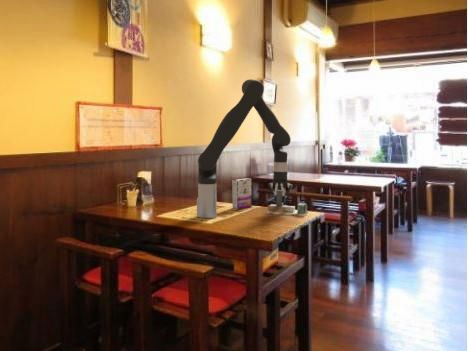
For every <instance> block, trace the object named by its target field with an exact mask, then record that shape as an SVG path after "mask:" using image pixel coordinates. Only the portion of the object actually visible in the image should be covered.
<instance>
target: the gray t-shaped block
mask: <svg viewBox="0 0 468 351" xmlns="http://www.w3.org/2000/svg"><path fill="white" fill-rule="evenodd" d="M282 196H283V195H282V190H281V189H279V190H278V191H277V197H276V202H275V203H276V205H269V206H282V207H285V211H289V212H294V211H295V210H296V206H295V205H287V206H283V205H284V203H282Z"/></svg>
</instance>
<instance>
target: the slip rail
mask: <svg viewBox="0 0 468 351" xmlns="http://www.w3.org/2000/svg"><path fill="white" fill-rule="evenodd" d="M270 205H276V204H274V203H271V204H270ZM270 205H267V211H266V214H270V215H278V216H279V215H280V216H291V215H294V217H303V216H304V217H305V216H307V214H309V212H308V203H304V202H303V203H302V202H299V203H298V204H297V209H295V211H294V212H289V211H285V207H282V206H270ZM283 206H288V205H287V204H283Z"/></svg>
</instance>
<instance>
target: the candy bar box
mask: <svg viewBox="0 0 468 351" xmlns="http://www.w3.org/2000/svg"><path fill="white" fill-rule="evenodd" d="M252 182H253V181H252V178H248V177H247V178H239V179H232V180H231V185H232V186H231V187H232V188H231V189H232V192H231V193H232V202H231V203H232V209H236V210H241V209H246V208H251V207H252V204H253V203H252V196H253V193H252V190H253V188H252V184H253V183H252Z"/></svg>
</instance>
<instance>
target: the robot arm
mask: <svg viewBox="0 0 468 351" xmlns="http://www.w3.org/2000/svg"><path fill="white" fill-rule="evenodd" d="M263 84H264V83H262V81H259V80H257V79H251V78H250V79H246V80H245V81H244V82H243V83H242V85H241V92H242V96H241V97H240V100H239V101H238V102H237V103H236V105H235V106H234V107H232V108H231V109H230V110H229V111H228V112H227V113H226V114H225V116H224V117H223V119H222V120H221V122H220V123H219V125H218V127H217V129H216V131H215V133H214V135H213V137H212V139H211V141H210V142H209V144H208V145H207V146H206V147H205V149H204V151H203V152H202V153H201V154H200V155H199V156H198V159H197V164H198V175H197V176H198V178H197V179H198V181H197V183H198V184H197V185H198V189H197V190H198V191H197V192H198V193H197V194H198V197H197V198H196V217H197V218H201V219H214V218H216V217H217V209H218V208H217V206H218V205H217V204H218V203H217V202H218V201H217V178H218V176H217V172H218V171H217V168H218V166H217V165H218V164H217V163H218V161H219V160H220V156H221V155H222V153H223V151H224V150H225V148H227V146H228V144H229V143H230V142H231V141H232V139H233V138H234V137H235V135H236V134H237V133H238V131H239V130H240V128H241V126H242V124H243V123H244V122H245V120H246V118H247V117H248V115H249V114H250V111H252V109H253V107H254V109H255V111H256V113H257V114H258V116H259V117H260V119H261V120H262V123H263V124H264V125H265V126H264V127H265V128H266V130H267V131H268V133H270V134H273V135H272V137H271V146H272V150H273V154H274V155H273V156H274V157H273V166H272V167H273V169H272V170H273V173H272V174H273V175H272V176H273V177H272V182H270V183H267V187H268V189H269V192H270V193H271V195H273V196H274V197H273V198H274V200H273V201H274V202H275V203H276V197H277V191H278V190H282V195H283V196H282V203H283V204H284V203H285V202H286V196H289V194H290V192H291V190H292V188H293V186H294V185H293V184H291V183H290V182H289V181H288V170H289V168H288V152H287V151H286V150H284V147H287V146H289V145H290V144H291V136H290V134H289V132H288V131H287V129H285V128H284V126H282V124H281V123H280V121H279V120H278V118H277V116H276V115H275V113H274V111H273V110H272V109H271V108H270V106H268V104H267V103H266V101H265V99H264V98H263V94H264V91H265V86H264V85H263ZM286 188H288V189H287V191H286Z"/></svg>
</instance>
